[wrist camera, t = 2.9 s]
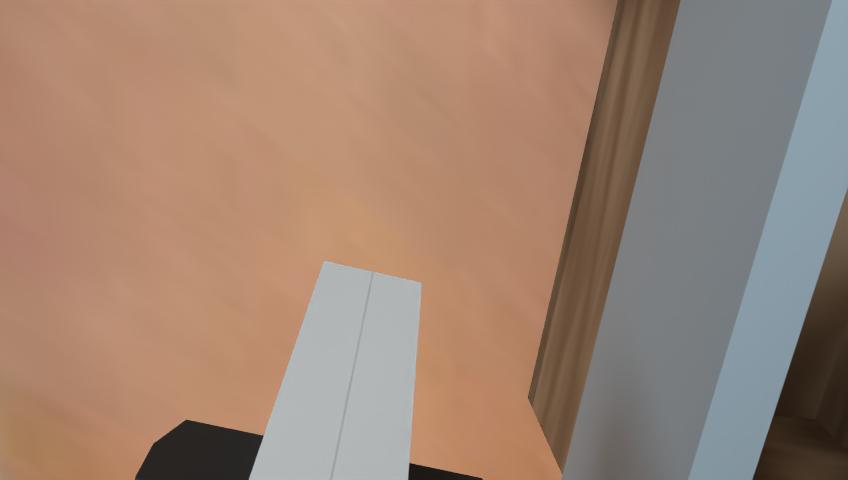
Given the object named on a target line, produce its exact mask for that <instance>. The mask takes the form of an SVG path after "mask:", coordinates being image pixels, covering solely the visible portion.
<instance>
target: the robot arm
mask: <svg viewBox="0 0 848 480" xmlns="http://www.w3.org/2000/svg"><path fill="white" fill-rule="evenodd" d="M421 287H422V283H421V282H417V281H412V280H408V279H403V278H399V277H394V276H390V275H385V274H381V273H376V272H372V271H367V270H363V269H358V268H354V267H349V266H345V265H340V264H336V263H331V262H327V261H324V262H323V265H322V268H321V271H320V274H319V277H318V280H317V283H316V286H315V288H314V291H313V294H312V297H311V300H310V303H309V306H308V309H307V312H306V315H305V318H304V320H303V323H302V326H301V329H300V332H299V335H298V338H297V341H296V344H295V347H294V350H293V352H292V355H291V358H290V361H289V364H288V367H287V370H286V373H285V376H284V379H283V382H282V384H281V387H280V390H279V393H278V396H277V399H276V402H275V405H274V408H273V411H272V414H271V416H270V419H269V422H268V425H267V428H266V431H265V434H264V436H262V435H257V434H253V433H248V432H243V431H238V430H233V429H229V428H224V427H219V426H214V425H209V424H205V423H200V422H195V421H190V420H185V421H184V422H182V423H181V424H180V425H178V426H177V427H176V428H174V429H173V430H172V431H170V432H169V433H167V434H166V435H165V436H163V437H162V438H161V439H159V440H158V441H157V442H155V443H154V444H153V446H152V447H151V449H150V451H149V453H148V455H147V457H146V459H145V460H144V462H143V464H142V466H141V468H140V470H139V471H138V473H137V475H136V477H135V480H483V479H482V478H478V477H473V476H469V475H464V474H459V473H454V472H449V471H445V470H440V469H435V468H430V467H425V466H421V465H416V464H411V463H409V459H410V445H411V430H412V416H413V402H414V387H415V373H416V359H417V345H418V330H419V316H420V302H421Z"/></svg>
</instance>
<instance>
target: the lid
mask: <svg viewBox="0 0 848 480" xmlns="http://www.w3.org/2000/svg"><path fill="white" fill-rule="evenodd" d="M847 188H848V0H681V1H680V5H679V9H678V13H677V17H676V21H675V25H674V29H673V33H672V37H671V41H670V46H669V50H668V54H667V58H666V62H665V66H664V70H663V74H662V78H661V82H660V86H659V90H658V94H657V98H656V102H655V106H654V110H653V114H652V118H651V122H650V126H649V130H648V134H647V138H646V142H645V146H644V150H643V154H642V158H641V162H640V166H639V170H638V174H637V178H636V182H635V186H634V190H633V194H632V198H631V202H630V206H629V210H628V214H627V218H626V222H625V227H624V231H623V235H622V239H621V243H620V247H619V251H618V255H617V259H616V263H615V267H614V271H613V275H612V279H611V283H610V287H609V291H608V295H607V299H606V303H605V307H604V311H603V315H602V319H601V323H600V327H599V331H598V335H597V339H596V343H595V347H594V351H593V355H592V359H591V363H590V367H589V371H588V375H587V379H586V383H585V387H584V391H583V395H582V399H581V404H580V408H579V412H578V416H577V420H576V424H575V428H574V432H573V436H572V440H571V444H570V448H569V452H568V456H567V460H566V464H565V468H564V472H563V476H562V480H752V479H753V476H754V473H755V470H756V467H757V464H758V461H759V458H760V455H761V451H762V448H763V445H764V442H765V439H766V436H767V433H768V430H769V427H770V424H771V421H772V418H773V415H774V412H775V409H776V406H777V402H778V399H779V396H780V393H781V390H782V387H783V384H784V381H785V378H786V375H787V372H788V369H789V366H790V363H791V360H792V357H793V353H794V350H795V347H796V344H797V341H798V338H799V335H800V332H801V329H802V326H803V323H804V320H805V317H806V314H807V311H808V308H809V304H810V301H811V298H812V295H813V292H814V289H815V286H816V283H817V280H818V277H819V274H820V271H821V268H822V265H823V262H824V258H825V255H826V252H827V249H828V246H829V243H830V240H831V237H832V234H833V231H834V228H835V225H836V222H837V219H838V216H839V213H840V209H841V206H842V203H843V200H844V197H845V194H846V191H847Z"/></svg>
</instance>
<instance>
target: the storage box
mask: <svg viewBox="0 0 848 480" xmlns="http://www.w3.org/2000/svg"><path fill="white" fill-rule="evenodd" d="M680 1H681V0H618V4H617V8H616V13H615V17H614V22H613V26H612V30H611V35H610V39H609V44H608V48H607V52H606V57H605V61H604V66H603V70H602V74H601V79H600V83H599V88H598V92H597V96H596V101H595V105H594V110H593V114H592V118H591V123H590V127H589V132H588V136H587V140H586V145H585V149H584V154H583V158H582V162H581V167H580V171H579V176H578V180H577V184H576V189H575V193H574V198H573V202H572V206H571V211H570V215H569V220H568V224H567V228H566V233H565V237H564V242H563V246H562V250H561V255H560V259H559V264H558V268H557V272H556V277H555V281H554V286H553V290H552V294H551V299H550V303H549V308H548V312H547V316H546V321H545V325H544V330H543V334H542V338H541V343H540V347H539V352H538V356H537V360H536V365H535V369H534V374H533V378H532V382H531V387H530V391H529V396H528V399H529V401H530V403H531V406H532V408H533V410H534V412H535V415H536V417H537V419H538V421H539V424H540V426H541V428H542V430H543V433H544V435H545V437H546V439H547V441H548V444H549V446H550V448H551V450H552V453H553V455H554V457H555V459H556V462H557V464H558V466H559V468H560V470H561V473H562V475H563V472H564V468H565V464H566V460H567V456H568V452H569V448H570V444H571V440H572V436H573V432H574V428H575V424H576V420H577V416H578V412H579V408H580V404H581V399H582V395H583V391H584V387H585V383H586V379H587V375H588V371H589V367H590V363H591V359H592V355H593V351H594V347H595V343H596V339H597V335H598V331H599V327H600V323H601V319H602V315H603V311H604V307H605V303H606V299H607V295H608V291H609V287H610V283H611V279H612V275H613V271H614V267H615V263H616V259H617V255H618V251H619V247H620V243H621V239H622V235H623V231H624V227H625V222H626V218H627V214H628V210H629V206H630V202H631V198H632V194H633V190H634V186H635V182H636V178H637V174H638V170H639V166H640V162H641V158H642V154H643V150H644V146H645V142H646V138H647V134H648V130H649V126H650V122H651V118H652V114H653V110H654V106H655V102H656V98H657V94H658V90H659V86H660V82H661V78H662V74H663V70H664V66H665V62H666V58H667V54H668V50H669V46H670V41H671V37H672V33H673V29H674V25H675V21H676V17H677V13H678V9H679V5H680ZM752 480H848V188H847V191H846V194H845V197H844V200H843V203H842V206H841V209H840V213H839V216H838V219H837V222H836V225H835V228H834V231H833V234H832V237H831V240H830V243H829V246H828V249H827V252H826V255H825V258H824V262H823V265H822V268H821V271H820V274H819V277H818V280H817V283H816V286H815V289H814V292H813V295H812V298H811V301H810V304H809V308H808V311H807V314H806V317H805V320H804V323H803V326H802V329H801V332H800V335H799V338H798V341H797V344H796V347H795V350H794V353H793V357H792V360H791V363H790V366H789V369H788V372H787V375H786V378H785V381H784V384H783V387H782V390H781V393H780V396H779V399H778V402H777V406H776V409H775V412H774V415H773V418H772V421H771V424H770V427H769V430H768V433H767V436H766V439H765V442H764V445H763V448H762V451H761V455H760V458H759V461H758V464H757V467H756V470H755V473H754V476H753V479H752Z"/></svg>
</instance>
